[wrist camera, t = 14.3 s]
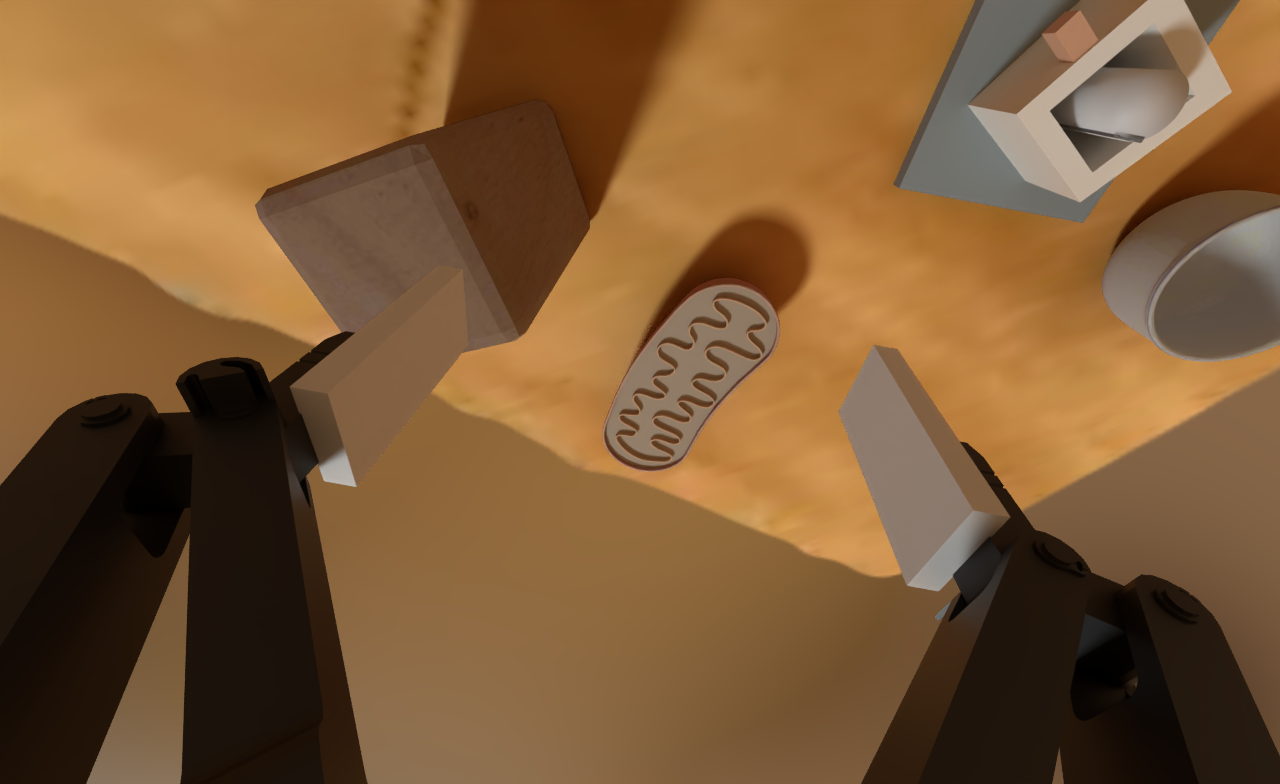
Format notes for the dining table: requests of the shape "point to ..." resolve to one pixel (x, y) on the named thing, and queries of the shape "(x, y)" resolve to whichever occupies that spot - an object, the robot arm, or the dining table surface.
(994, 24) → the board
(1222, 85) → the white square sleeve
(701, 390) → the anatomical model
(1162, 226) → the teacup
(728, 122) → the dining table surface
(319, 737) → the robot arm
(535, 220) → the wooden block
